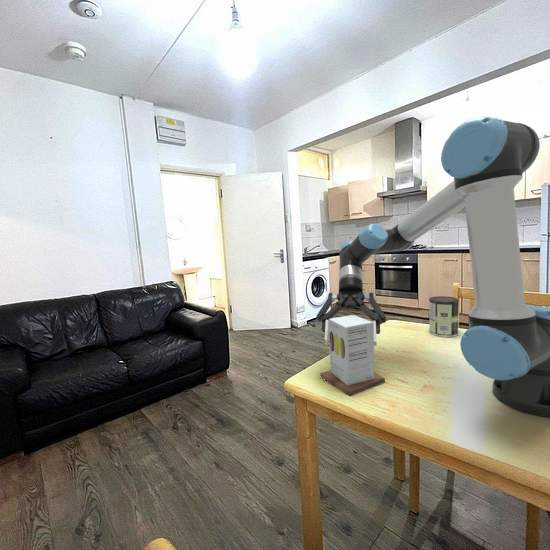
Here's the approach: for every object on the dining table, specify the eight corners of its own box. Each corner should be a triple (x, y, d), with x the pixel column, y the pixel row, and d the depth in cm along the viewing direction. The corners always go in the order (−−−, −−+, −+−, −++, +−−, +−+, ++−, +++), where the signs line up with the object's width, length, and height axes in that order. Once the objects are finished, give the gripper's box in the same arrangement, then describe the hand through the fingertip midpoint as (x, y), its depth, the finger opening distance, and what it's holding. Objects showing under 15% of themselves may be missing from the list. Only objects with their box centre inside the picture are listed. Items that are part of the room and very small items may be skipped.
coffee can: (449, 328, 126) (449, 295, 124) (464, 336, 116) (464, 300, 114) (424, 329, 126) (424, 296, 124) (437, 338, 116) (437, 302, 114)
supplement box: (329, 372, 91) (327, 318, 89) (355, 366, 94) (353, 313, 92) (347, 386, 82) (345, 327, 80) (375, 379, 85) (374, 321, 83)
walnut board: (385, 382, 85) (384, 378, 85) (350, 396, 79) (350, 391, 79) (353, 365, 97) (352, 362, 97) (320, 377, 91) (320, 373, 90)
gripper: (390, 288, 98) (395, 350, 85) (314, 289, 105) (309, 346, 93) (391, 274, 92) (397, 338, 80) (311, 276, 99) (305, 335, 87)
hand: (350, 342), depth 86 cm, fingers open, 13 cm apart
